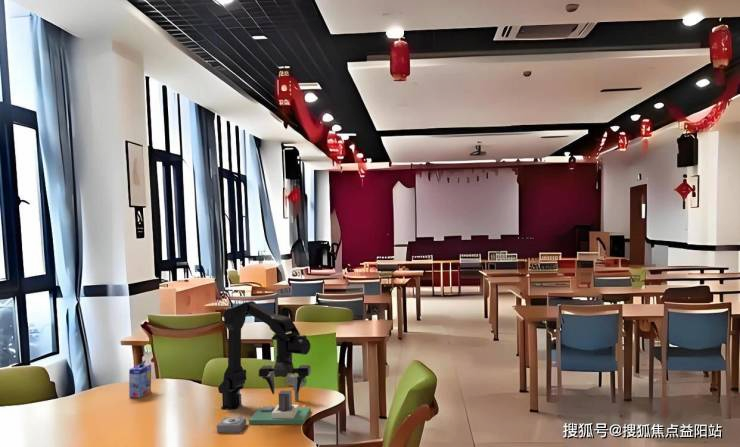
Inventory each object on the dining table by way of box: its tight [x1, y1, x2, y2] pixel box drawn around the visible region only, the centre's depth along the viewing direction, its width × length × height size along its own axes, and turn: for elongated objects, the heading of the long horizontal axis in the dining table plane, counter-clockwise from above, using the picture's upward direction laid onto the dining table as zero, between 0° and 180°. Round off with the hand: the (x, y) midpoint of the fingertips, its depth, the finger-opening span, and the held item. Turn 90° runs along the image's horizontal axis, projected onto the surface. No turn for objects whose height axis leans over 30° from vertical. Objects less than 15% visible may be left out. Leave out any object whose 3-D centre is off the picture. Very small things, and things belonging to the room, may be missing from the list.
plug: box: [278, 389, 293, 412], centre depth 206 cm, size 4×5×8 cm
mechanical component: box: [285, 373, 307, 402], centre depth 227 cm, size 3×10×10 cm, turn 53°
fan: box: [216, 416, 247, 434], centre depth 197 cm, size 8×8×3 cm
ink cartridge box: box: [128, 359, 152, 398], centre depth 242 cm, size 10×6×14 cm, turn 175°
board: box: [248, 404, 311, 425], centre depth 207 cm, size 20×14×4 cm
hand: (285, 393), depth 207 cm, fingers open, 9 cm apart
